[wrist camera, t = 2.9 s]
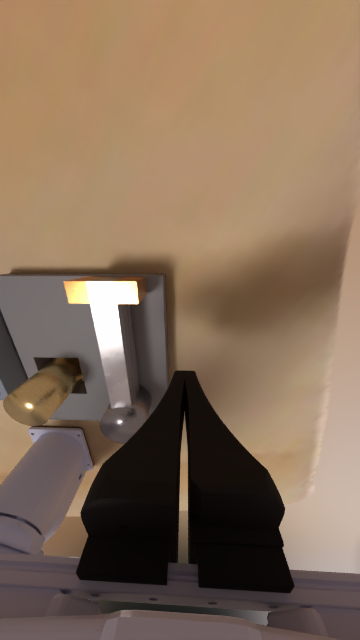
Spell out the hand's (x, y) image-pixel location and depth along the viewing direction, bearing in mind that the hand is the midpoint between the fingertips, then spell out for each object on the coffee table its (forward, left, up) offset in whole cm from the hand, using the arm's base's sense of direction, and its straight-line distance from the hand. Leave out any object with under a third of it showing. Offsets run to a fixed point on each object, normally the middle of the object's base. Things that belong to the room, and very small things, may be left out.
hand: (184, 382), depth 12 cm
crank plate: (-3, +10, -8) cm, 13 cm away
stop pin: (-5, +14, -8) cm, 17 cm away
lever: (-2, +6, -6) cm, 8 cm away
